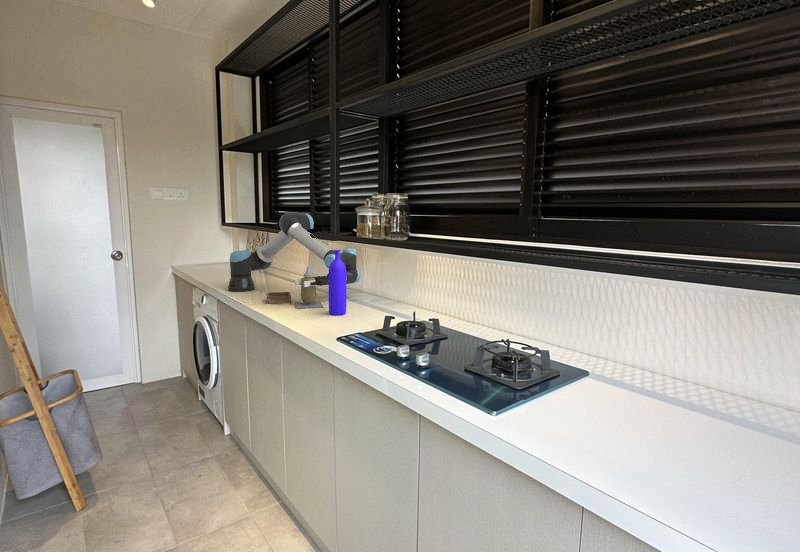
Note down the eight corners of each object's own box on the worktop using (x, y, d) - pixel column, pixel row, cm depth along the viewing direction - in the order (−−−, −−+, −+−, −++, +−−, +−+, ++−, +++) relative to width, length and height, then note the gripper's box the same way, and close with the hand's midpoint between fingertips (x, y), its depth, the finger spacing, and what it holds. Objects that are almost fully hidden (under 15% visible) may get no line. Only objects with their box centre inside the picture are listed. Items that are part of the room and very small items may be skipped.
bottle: (334, 316, 188) (334, 251, 184) (325, 313, 194) (324, 249, 190) (350, 314, 194) (350, 250, 189) (340, 310, 200) (340, 249, 195)
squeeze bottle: (297, 301, 210) (296, 266, 207) (310, 299, 216) (310, 265, 213) (306, 304, 204) (306, 268, 202) (320, 301, 210) (319, 266, 208)
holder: (266, 300, 222) (266, 292, 221) (289, 298, 226) (289, 291, 225) (267, 304, 210) (267, 297, 210) (291, 303, 214) (291, 295, 214)
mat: (294, 303, 214) (294, 302, 214) (319, 302, 218) (319, 301, 218) (296, 309, 202) (296, 307, 202) (323, 307, 206) (323, 306, 206)
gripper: (348, 287, 216) (312, 293, 199) (324, 283, 229) (288, 288, 212) (348, 273, 215) (311, 278, 198) (324, 269, 228) (288, 273, 211)
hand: (300, 283), depth 205 cm, fingers closed on squeeze bottle, 6 cm apart
